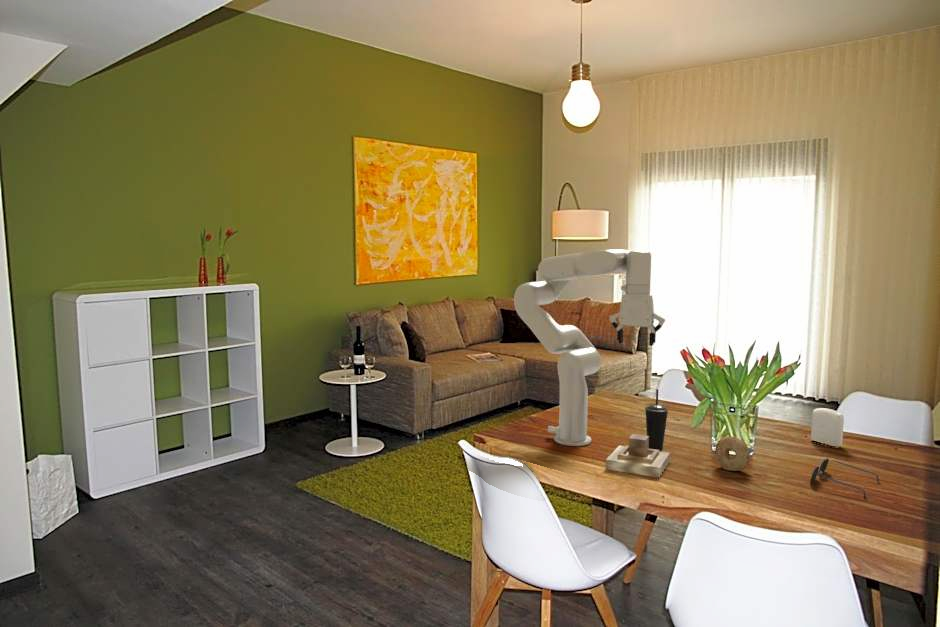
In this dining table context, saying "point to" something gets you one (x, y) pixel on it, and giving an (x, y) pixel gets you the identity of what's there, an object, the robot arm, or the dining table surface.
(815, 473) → the sunglasses
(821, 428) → the photo printer
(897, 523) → the dining table surface
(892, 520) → the dining table surface
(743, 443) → the stone disc
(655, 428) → the drinking cup
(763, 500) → the dining table surface
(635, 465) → the base
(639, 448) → the walnut block
